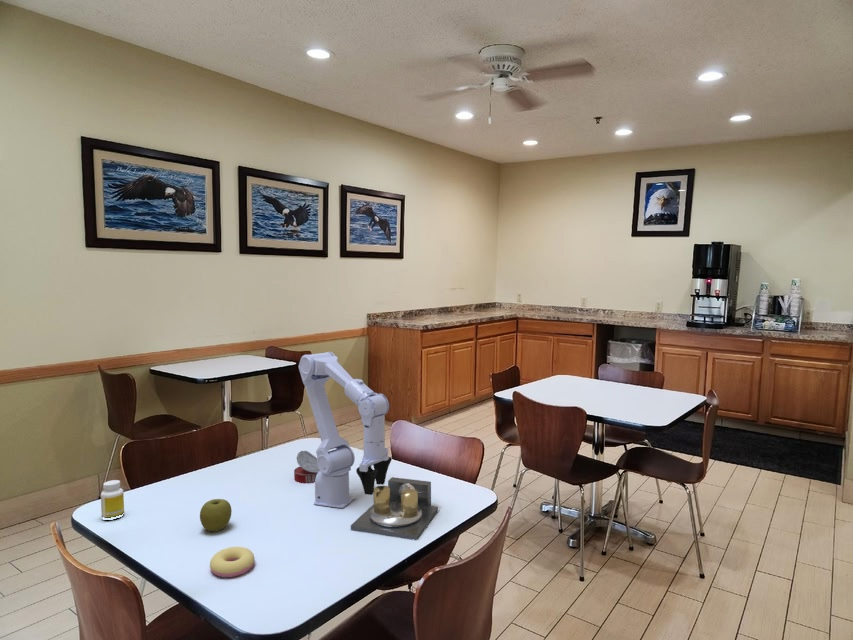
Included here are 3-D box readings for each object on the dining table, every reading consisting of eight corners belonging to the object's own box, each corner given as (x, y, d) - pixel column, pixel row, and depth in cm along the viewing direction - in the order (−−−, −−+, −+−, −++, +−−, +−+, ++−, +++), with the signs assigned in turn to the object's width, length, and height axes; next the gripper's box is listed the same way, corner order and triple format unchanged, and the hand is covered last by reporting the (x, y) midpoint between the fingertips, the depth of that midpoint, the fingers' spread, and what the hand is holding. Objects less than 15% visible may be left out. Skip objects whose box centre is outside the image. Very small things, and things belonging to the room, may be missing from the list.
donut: (245, 563, 129) (204, 569, 124) (246, 543, 130) (205, 548, 124) (259, 574, 121) (216, 582, 116) (261, 553, 122) (218, 559, 116)
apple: (237, 523, 145) (237, 497, 145) (220, 537, 137) (219, 509, 137) (212, 520, 147) (211, 495, 146) (193, 534, 139) (192, 507, 139)
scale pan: (361, 522, 142) (360, 519, 142) (382, 502, 155) (382, 499, 155) (411, 530, 137) (411, 526, 137) (428, 508, 151) (428, 505, 151)
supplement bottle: (128, 515, 151) (127, 480, 150) (110, 523, 146) (108, 487, 145) (115, 511, 153) (114, 477, 153) (97, 519, 148) (95, 484, 148)
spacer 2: (399, 516, 143) (398, 494, 143) (404, 510, 148) (404, 488, 147) (415, 518, 142) (414, 496, 142) (419, 511, 146) (419, 489, 146)
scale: (350, 530, 141) (350, 503, 140) (382, 499, 161) (382, 476, 160) (416, 540, 135) (415, 512, 134) (441, 506, 155) (441, 482, 154)
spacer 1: (371, 512, 146) (371, 491, 146) (376, 506, 150) (376, 485, 150) (387, 514, 145) (386, 492, 144) (392, 507, 149) (391, 486, 149)
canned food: (314, 486, 184) (325, 457, 187) (323, 492, 175) (335, 462, 178) (283, 475, 179) (295, 446, 182) (291, 482, 171) (304, 451, 173)
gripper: (376, 449, 139) (377, 501, 140) (397, 433, 152) (398, 481, 153) (351, 446, 141) (352, 497, 142) (374, 431, 155) (375, 478, 156)
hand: (374, 488), depth 148 cm, fingers open, 7 cm apart
